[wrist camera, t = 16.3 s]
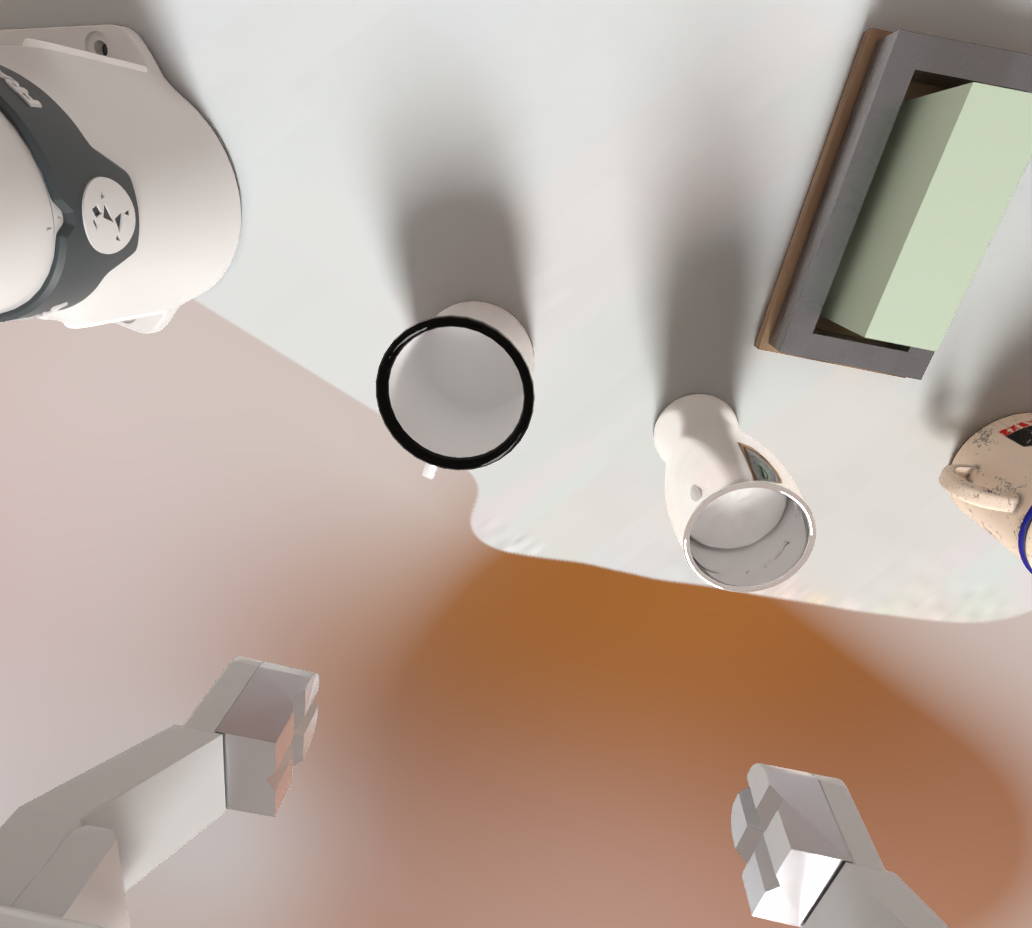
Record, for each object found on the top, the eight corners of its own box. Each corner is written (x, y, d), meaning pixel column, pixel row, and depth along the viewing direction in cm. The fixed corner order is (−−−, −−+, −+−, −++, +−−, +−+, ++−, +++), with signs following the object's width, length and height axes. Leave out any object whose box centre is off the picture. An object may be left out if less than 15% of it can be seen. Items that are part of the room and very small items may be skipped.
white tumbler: (709, 367, 42) (774, 451, 28) (762, 440, 44) (847, 551, 30) (628, 425, 44) (651, 528, 31) (681, 492, 46) (726, 617, 33)
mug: (436, 270, 41) (401, 289, 33) (563, 324, 42) (560, 356, 34) (386, 421, 46) (345, 470, 38) (500, 467, 47) (484, 525, 38)
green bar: (898, 102, 34) (973, 82, 28) (968, 116, 34) (1059, 98, 28) (817, 313, 39) (864, 337, 33) (877, 325, 39) (937, 351, 33)
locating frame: (754, 345, 41) (769, 358, 38) (863, 32, 34) (894, 15, 30) (898, 373, 41) (925, 388, 38) (1040, 66, 33) (1088, 53, 30)
